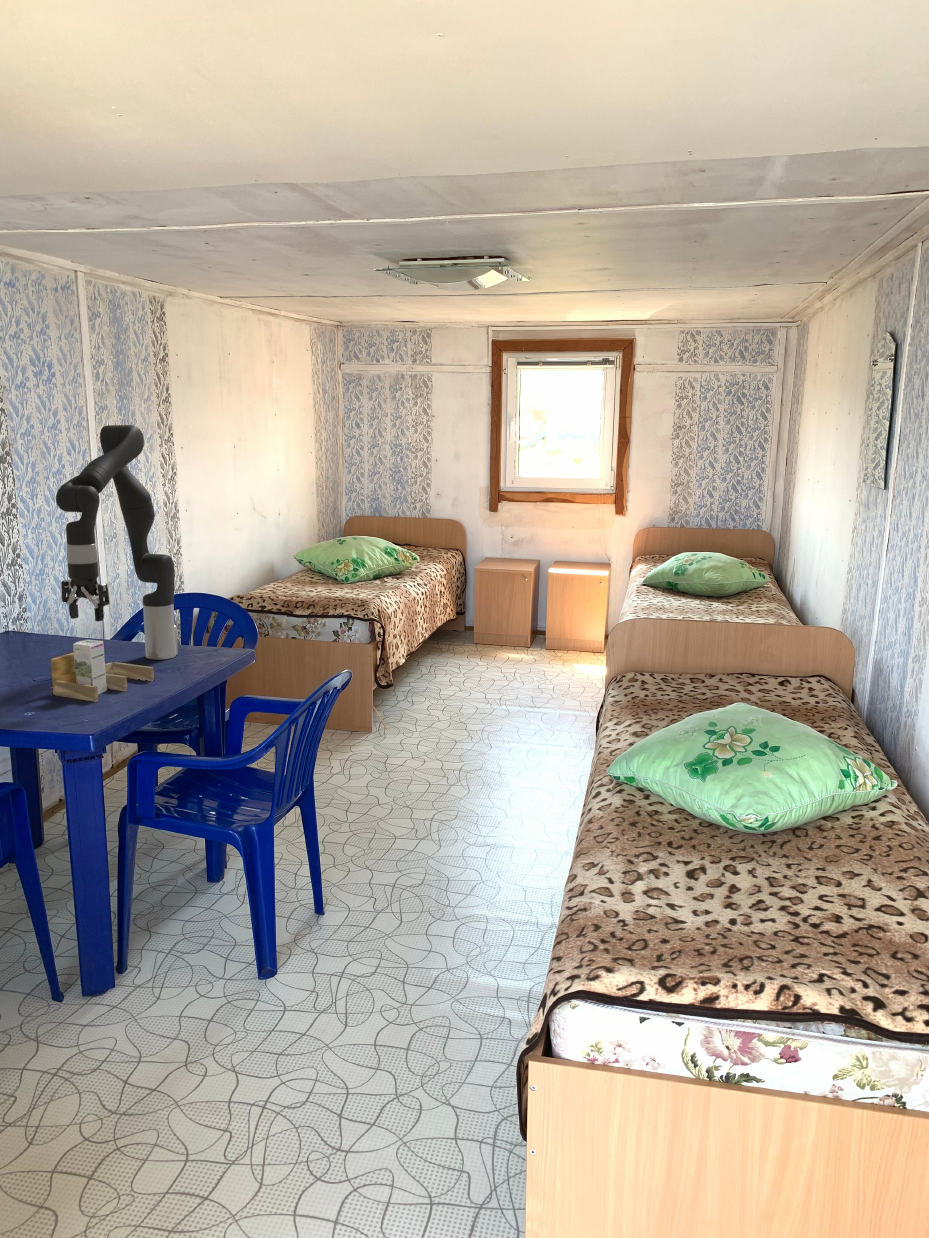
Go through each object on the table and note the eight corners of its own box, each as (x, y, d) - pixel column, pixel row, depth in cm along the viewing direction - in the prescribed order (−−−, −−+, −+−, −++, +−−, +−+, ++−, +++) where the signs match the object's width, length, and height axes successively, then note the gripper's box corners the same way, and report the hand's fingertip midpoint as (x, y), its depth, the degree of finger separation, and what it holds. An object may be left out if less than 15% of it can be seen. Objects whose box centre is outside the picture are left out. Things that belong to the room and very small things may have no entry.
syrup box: (107, 690, 247) (104, 640, 244) (93, 696, 242) (89, 644, 239) (90, 688, 249) (87, 638, 246) (75, 694, 243) (72, 643, 240)
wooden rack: (112, 674, 264) (110, 642, 262) (154, 680, 258) (152, 647, 256) (51, 694, 243) (49, 659, 241) (95, 701, 237) (93, 665, 235)
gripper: (113, 560, 238) (117, 619, 242) (72, 557, 243) (76, 614, 247) (93, 564, 232) (97, 624, 235) (51, 560, 237) (55, 619, 240)
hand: (86, 619), depth 241 cm, fingers open, 8 cm apart
